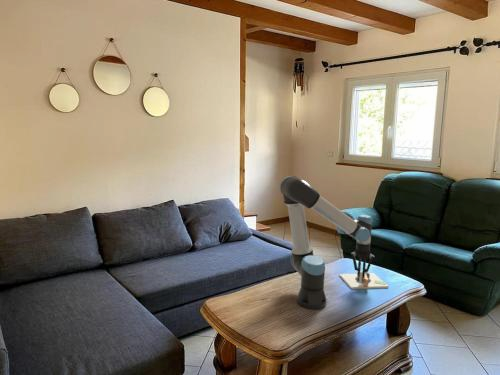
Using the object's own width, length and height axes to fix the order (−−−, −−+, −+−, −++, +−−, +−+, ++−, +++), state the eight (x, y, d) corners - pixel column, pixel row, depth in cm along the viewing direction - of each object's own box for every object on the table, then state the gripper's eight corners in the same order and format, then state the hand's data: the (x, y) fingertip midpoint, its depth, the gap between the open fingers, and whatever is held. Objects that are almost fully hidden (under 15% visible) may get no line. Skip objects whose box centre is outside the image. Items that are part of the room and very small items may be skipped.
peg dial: (356, 276, 219) (356, 269, 218) (368, 277, 218) (368, 270, 217) (360, 287, 203) (360, 279, 203) (373, 288, 202) (373, 280, 202)
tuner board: (351, 289, 204) (351, 286, 204) (339, 275, 223) (339, 273, 223) (389, 287, 207) (389, 285, 207) (374, 274, 226) (374, 272, 225)
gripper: (350, 242, 203) (348, 282, 206) (375, 246, 198) (372, 286, 201) (352, 239, 210) (349, 278, 213) (376, 242, 205) (373, 281, 208)
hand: (360, 282), depth 207 cm, fingers closed
